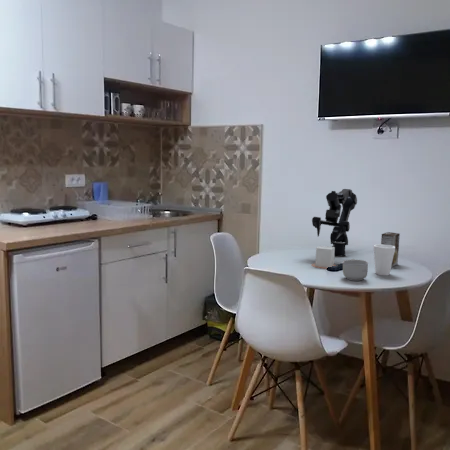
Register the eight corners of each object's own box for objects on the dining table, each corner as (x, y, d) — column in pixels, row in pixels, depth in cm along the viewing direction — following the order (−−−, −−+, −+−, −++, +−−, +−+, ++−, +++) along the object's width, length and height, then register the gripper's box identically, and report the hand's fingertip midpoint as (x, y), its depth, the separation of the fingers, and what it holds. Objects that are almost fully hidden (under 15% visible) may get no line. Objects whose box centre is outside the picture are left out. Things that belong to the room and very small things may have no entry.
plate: (334, 264, 232) (334, 263, 232) (341, 270, 219) (341, 269, 219) (308, 263, 232) (308, 262, 232) (314, 269, 219) (314, 268, 219)
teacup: (366, 283, 196) (367, 265, 195) (340, 280, 199) (341, 262, 198) (367, 276, 209) (368, 258, 208) (343, 273, 212) (344, 256, 211)
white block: (318, 263, 230) (319, 245, 229) (333, 265, 227) (334, 247, 226) (315, 266, 223) (316, 248, 222) (330, 268, 220) (331, 249, 219)
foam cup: (379, 276, 208) (381, 248, 207) (367, 271, 217) (369, 244, 215) (397, 275, 211) (399, 247, 209) (385, 270, 220) (387, 244, 218)
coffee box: (385, 262, 240) (387, 231, 237) (397, 264, 236) (400, 233, 233) (378, 265, 233) (381, 233, 230) (391, 267, 228) (394, 235, 226)
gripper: (314, 201, 237) (307, 225, 229) (351, 206, 230) (345, 231, 222) (316, 213, 246) (309, 237, 238) (352, 218, 238) (345, 243, 231)
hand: (326, 237), depth 232 cm, fingers open, 9 cm apart
